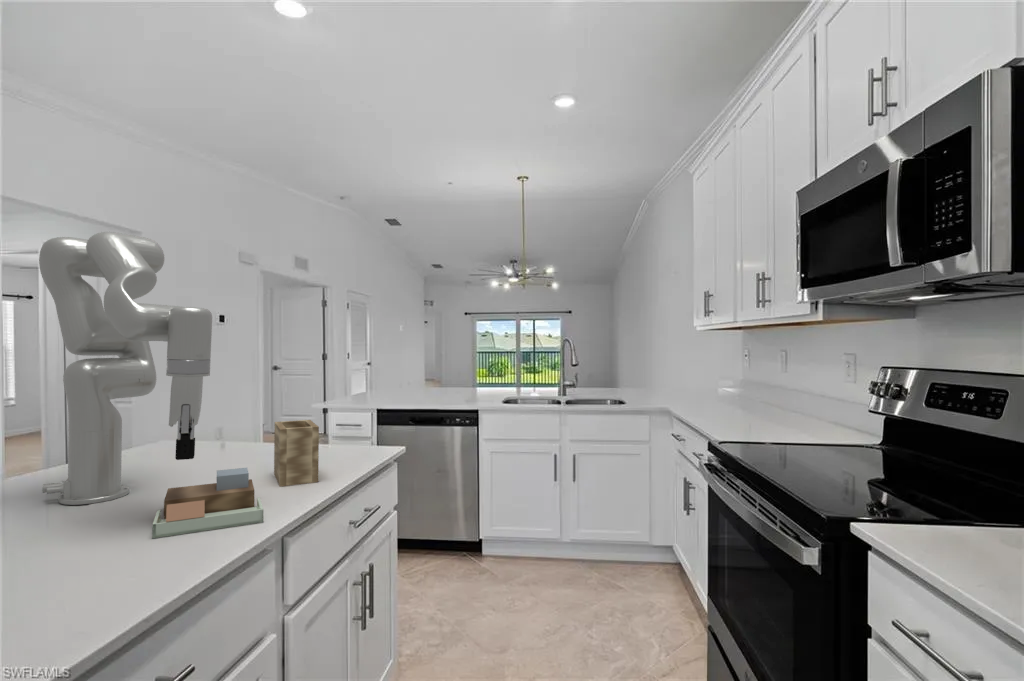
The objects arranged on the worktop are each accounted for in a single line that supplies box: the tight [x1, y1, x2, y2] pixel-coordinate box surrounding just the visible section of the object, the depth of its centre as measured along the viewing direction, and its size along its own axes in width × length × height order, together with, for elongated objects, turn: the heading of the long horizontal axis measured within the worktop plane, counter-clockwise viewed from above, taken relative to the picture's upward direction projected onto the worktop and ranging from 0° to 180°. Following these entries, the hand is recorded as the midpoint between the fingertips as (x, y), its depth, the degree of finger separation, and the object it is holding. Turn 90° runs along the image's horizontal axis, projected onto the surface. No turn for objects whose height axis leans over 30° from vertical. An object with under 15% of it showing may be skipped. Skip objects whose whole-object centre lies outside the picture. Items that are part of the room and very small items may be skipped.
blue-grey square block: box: [216, 467, 250, 491], centre depth 114 cm, size 6×6×3 cm
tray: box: [151, 496, 264, 539], centre depth 102 cm, size 18×10×2 cm, turn 120°
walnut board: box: [163, 478, 255, 519], centre depth 111 cm, size 16×10×4 cm, turn 120°
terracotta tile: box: [166, 500, 205, 522], centre depth 99 cm, size 6×6×3 cm
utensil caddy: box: [273, 419, 320, 488], centre depth 136 cm, size 9×14×14 cm, turn 30°
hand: (185, 458), depth 106 cm, fingers closed
